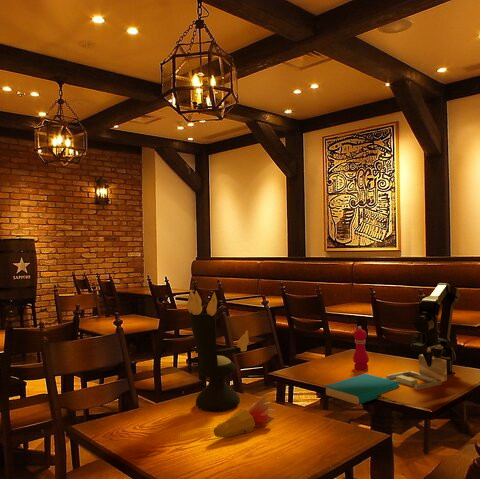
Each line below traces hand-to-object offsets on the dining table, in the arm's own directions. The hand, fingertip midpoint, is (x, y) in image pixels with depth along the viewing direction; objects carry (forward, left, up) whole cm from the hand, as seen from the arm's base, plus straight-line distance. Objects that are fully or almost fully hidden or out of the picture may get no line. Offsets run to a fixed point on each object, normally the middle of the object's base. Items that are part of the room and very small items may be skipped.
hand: (432, 366), depth 204 cm
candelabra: (+92, -18, -6) cm, 93 cm away
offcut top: (+15, 0, -5) cm, 15 cm away
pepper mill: (+13, -31, -6) cm, 34 cm away
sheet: (0, 0, -6) cm, 6 cm away
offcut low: (+15, 0, -7) cm, 16 cm away
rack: (+11, 0, -6) cm, 12 cm away
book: (+35, -3, -7) cm, 35 cm away
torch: (+92, +7, -7) cm, 92 cm away
